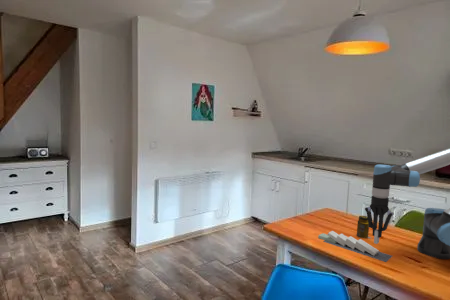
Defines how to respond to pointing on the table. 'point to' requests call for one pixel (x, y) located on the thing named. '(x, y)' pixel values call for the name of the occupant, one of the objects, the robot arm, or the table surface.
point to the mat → (378, 256)
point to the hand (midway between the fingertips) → (376, 242)
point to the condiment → (363, 227)
